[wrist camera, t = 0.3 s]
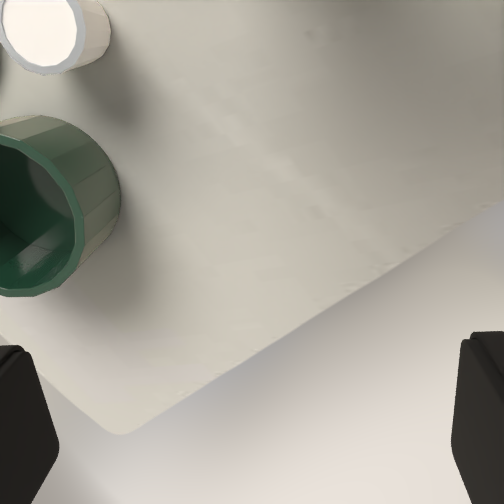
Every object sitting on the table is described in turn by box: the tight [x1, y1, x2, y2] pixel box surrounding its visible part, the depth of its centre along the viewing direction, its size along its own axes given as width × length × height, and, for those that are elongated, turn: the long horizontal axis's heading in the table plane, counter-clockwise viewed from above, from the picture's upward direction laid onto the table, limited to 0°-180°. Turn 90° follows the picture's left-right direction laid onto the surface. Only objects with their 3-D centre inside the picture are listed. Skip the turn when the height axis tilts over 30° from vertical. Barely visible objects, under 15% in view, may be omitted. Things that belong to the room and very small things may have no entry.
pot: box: [0, 115, 121, 297], centre depth 42 cm, size 14×14×9 cm
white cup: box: [0, 0, 111, 75], centre depth 37 cm, size 7×7×7 cm
